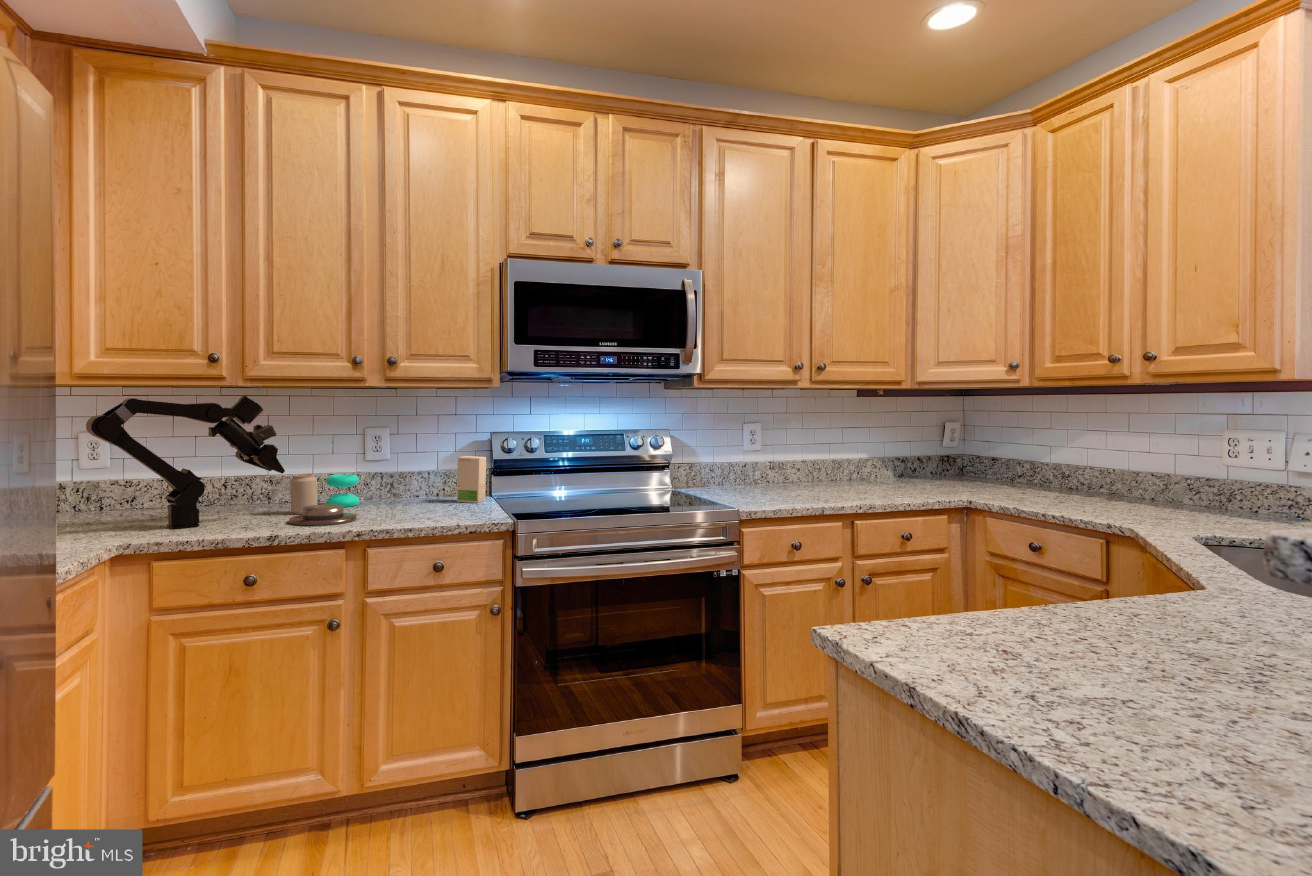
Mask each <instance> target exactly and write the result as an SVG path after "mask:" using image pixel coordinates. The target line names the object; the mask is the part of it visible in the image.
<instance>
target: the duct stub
mask: <svg viewBox="0 0 1312 876" xmlns="http://www.w3.org/2000/svg"><path fill="white" fill-rule="evenodd" d="M344 508H345V507H343V505H338V504H327V503H324V504H317V505H311V506H306V507H303V508H302V514H298V515H295V516H291V517H289V519H288V524H289V525H292V526H296V527H298V526H299V527H322V526H323V527H326V526H337V525H343V524H348V523H352V522H355V521H356V520H357V514H355V513H351V512H345V511H344V510H345V509H344Z"/></svg>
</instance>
